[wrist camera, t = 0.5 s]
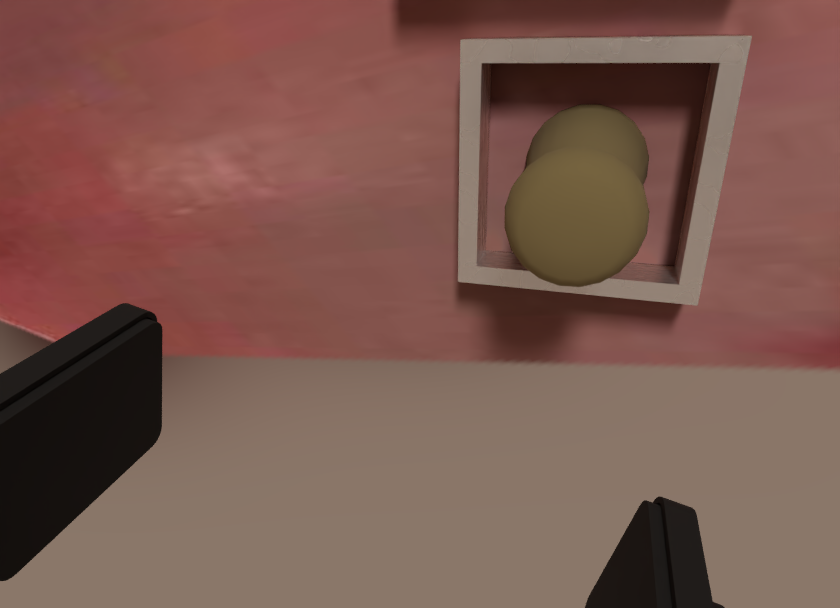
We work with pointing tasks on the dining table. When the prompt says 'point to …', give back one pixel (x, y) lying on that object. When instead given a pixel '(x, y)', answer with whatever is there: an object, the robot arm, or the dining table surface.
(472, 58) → the collar
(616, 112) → the cork
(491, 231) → the dining table surface
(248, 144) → the dining table surface
